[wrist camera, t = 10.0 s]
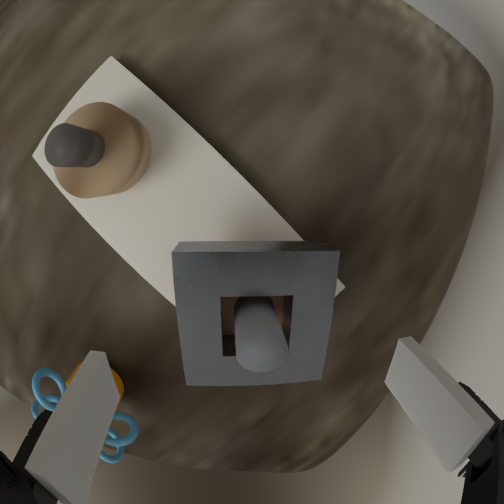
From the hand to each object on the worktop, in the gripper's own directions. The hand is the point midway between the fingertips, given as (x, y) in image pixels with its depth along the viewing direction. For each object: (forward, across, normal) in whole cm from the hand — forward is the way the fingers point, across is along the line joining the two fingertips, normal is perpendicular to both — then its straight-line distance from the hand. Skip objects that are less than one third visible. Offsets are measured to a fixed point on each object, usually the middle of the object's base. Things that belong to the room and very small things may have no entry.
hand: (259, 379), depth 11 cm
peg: (+11, +1, 0) cm, 11 cm away
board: (+13, -5, +5) cm, 15 cm away
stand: (+12, -10, +10) cm, 18 cm away
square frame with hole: (+7, 0, 0) cm, 7 cm away
